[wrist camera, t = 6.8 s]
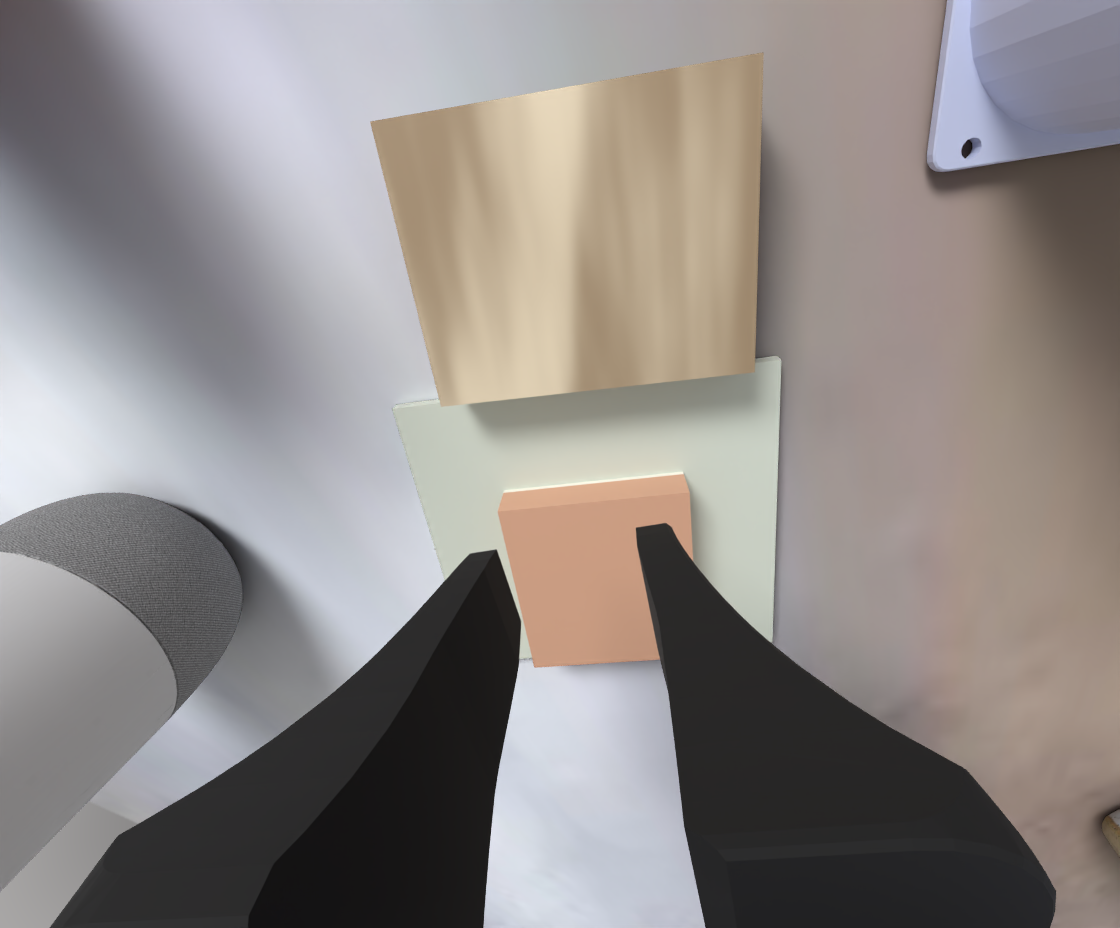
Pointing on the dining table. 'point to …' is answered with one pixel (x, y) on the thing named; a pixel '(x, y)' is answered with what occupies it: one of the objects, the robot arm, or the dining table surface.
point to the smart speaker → (98, 648)
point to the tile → (589, 564)
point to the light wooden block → (584, 232)
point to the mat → (613, 467)
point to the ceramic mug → (1112, 830)
